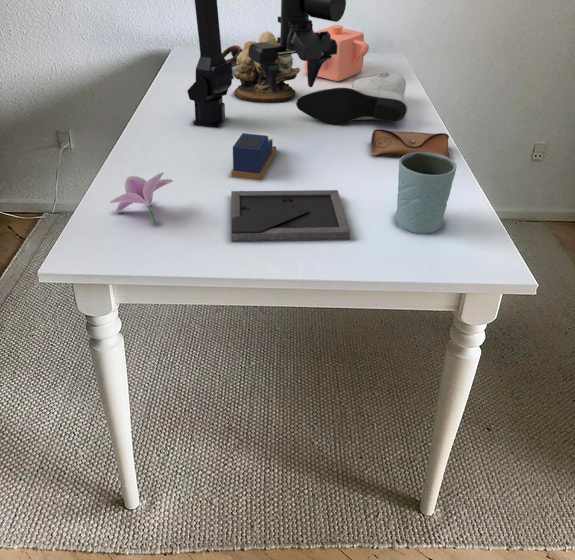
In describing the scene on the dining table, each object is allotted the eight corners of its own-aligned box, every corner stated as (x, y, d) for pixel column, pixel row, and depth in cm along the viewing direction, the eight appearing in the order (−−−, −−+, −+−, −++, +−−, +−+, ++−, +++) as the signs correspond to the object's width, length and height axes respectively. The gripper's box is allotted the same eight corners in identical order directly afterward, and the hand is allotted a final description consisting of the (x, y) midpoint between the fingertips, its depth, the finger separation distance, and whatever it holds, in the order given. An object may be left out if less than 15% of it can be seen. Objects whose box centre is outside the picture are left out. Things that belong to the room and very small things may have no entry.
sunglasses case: (372, 155, 139) (374, 125, 138) (369, 159, 146) (371, 130, 146) (453, 160, 138) (455, 129, 138) (446, 163, 145) (448, 134, 145)
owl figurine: (298, 89, 177) (300, 26, 167) (299, 103, 167) (302, 37, 157) (234, 87, 176) (233, 24, 166) (233, 102, 166) (231, 36, 156)
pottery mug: (257, 76, 186) (245, 54, 180) (229, 89, 189) (216, 67, 183) (254, 55, 194) (242, 32, 188) (227, 67, 196) (215, 46, 190)
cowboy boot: (410, 100, 148) (413, 70, 168) (298, 80, 150) (314, 53, 170) (401, 138, 153) (406, 104, 173) (293, 118, 156) (310, 87, 176)
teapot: (317, 61, 199) (319, 15, 191) (377, 75, 189) (382, 27, 181) (280, 75, 186) (281, 27, 178) (343, 91, 176) (347, 40, 168)
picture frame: (231, 241, 109) (349, 239, 111) (231, 231, 108) (350, 229, 109) (231, 198, 122) (337, 197, 124) (231, 189, 121) (337, 188, 122)
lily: (185, 208, 120) (165, 161, 118) (183, 215, 109) (161, 163, 106) (127, 231, 120) (106, 185, 117) (119, 241, 108) (96, 189, 106)
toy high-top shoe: (260, 180, 129) (260, 150, 125) (231, 176, 130) (230, 146, 126) (276, 151, 141) (276, 123, 137) (249, 148, 142) (249, 120, 138)
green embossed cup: (409, 239, 111) (419, 179, 104) (380, 213, 119) (388, 155, 112) (456, 229, 115) (468, 169, 108) (425, 204, 122) (435, 147, 115)
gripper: (273, 27, 116) (272, 108, 125) (355, 18, 124) (348, 95, 133) (246, 14, 124) (247, 91, 133) (325, 6, 132) (321, 79, 141)
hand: (292, 89), depth 135 cm, fingers open, 9 cm apart
